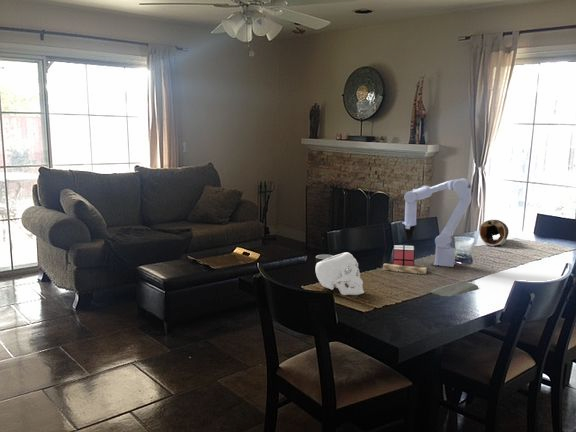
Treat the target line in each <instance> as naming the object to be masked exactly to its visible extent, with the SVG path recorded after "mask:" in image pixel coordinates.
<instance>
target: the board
mask: <svg viewBox="0 0 576 432" xmlns="http://www.w3.org/2000/svg"><path fill="white" fill-rule="evenodd" d="M382 270H383V271H388V270H391V271H390V272H398V271H399V272H400V273H408V274H417V273H418V274H419V275H426V274H427V267H424V266H423V267H422V266H415V265H414V266H405V265H395V264H393V263H392V264H391V263H383V265H382ZM418 274H417V275H418Z"/></svg>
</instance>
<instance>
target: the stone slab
mask: <svg viewBox="0 0 576 432" xmlns="http://www.w3.org/2000/svg"><path fill="white" fill-rule="evenodd" d="M477 289H479V286H478V285H477V284H475V283H472V282H468V281H464V280H463V281H461V282H455V283H451V284H446V285H442V286H440V287H437V288H434V289H432V290H431V291H429V294H434V295H436V296H441V297H452V296H457V295H460V294H465V293H468V292H470V291H475V290H477Z"/></svg>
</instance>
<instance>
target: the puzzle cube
mask: <svg viewBox="0 0 576 432" xmlns="http://www.w3.org/2000/svg"><path fill="white" fill-rule="evenodd" d="M415 253H416V252H415V246H414V245H403V244H402V245H401V244H399V245H398V244H397V245H395V244H394V245H393V249H392V264H395V265H405V266H415Z"/></svg>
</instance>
